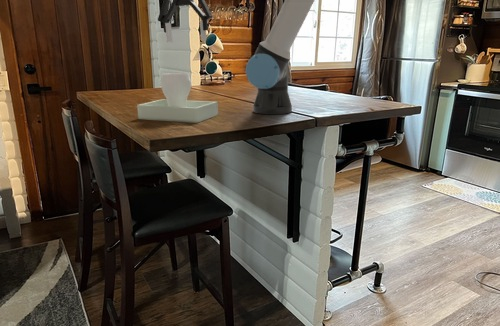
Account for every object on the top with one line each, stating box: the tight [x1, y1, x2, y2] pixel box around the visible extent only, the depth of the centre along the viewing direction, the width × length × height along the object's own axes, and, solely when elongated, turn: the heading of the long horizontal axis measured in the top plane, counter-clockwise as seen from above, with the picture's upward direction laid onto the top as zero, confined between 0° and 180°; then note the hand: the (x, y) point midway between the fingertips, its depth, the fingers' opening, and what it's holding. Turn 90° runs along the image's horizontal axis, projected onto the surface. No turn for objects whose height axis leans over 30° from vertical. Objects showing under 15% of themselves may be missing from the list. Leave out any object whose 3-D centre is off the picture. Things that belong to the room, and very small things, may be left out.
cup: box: [160, 72, 192, 107], centre depth 139 cm, size 11×11×15 cm
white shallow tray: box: [136, 98, 219, 124], centre depth 140 cm, size 24×16×5 cm, turn 69°
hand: (186, 41), depth 138 cm, fingers open, 13 cm apart
